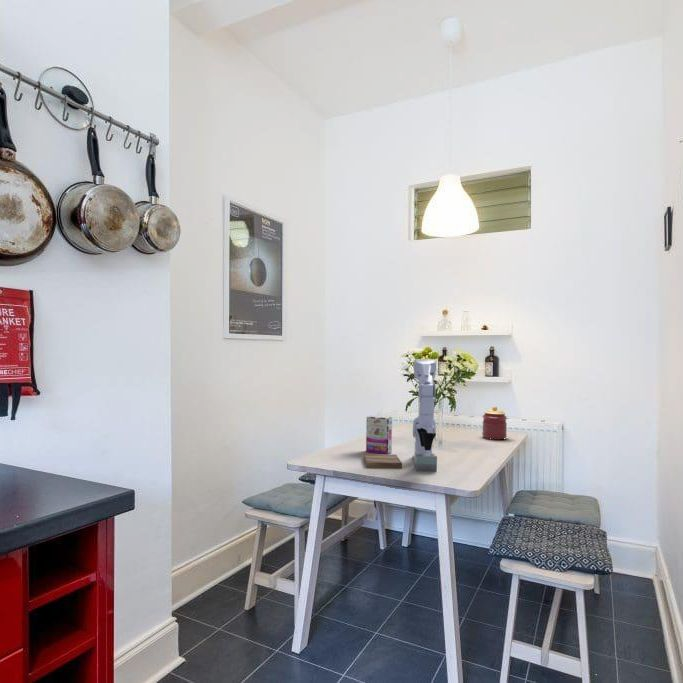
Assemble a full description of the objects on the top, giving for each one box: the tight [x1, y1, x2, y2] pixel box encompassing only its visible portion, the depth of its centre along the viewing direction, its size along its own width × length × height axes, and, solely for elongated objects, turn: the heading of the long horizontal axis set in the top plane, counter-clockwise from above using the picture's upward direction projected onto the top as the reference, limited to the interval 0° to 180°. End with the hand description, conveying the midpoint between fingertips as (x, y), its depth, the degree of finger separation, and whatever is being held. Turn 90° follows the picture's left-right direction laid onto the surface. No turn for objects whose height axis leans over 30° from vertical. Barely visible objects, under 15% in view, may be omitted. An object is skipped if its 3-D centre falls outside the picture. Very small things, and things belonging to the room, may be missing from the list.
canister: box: [481, 406, 508, 440], centre depth 270 cm, size 13×13×18 cm
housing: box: [413, 452, 438, 473], centre depth 194 cm, size 5×8×7 cm, turn 92°
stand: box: [363, 453, 403, 469], centre depth 203 cm, size 16×14×2 cm
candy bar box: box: [365, 415, 393, 454], centre depth 225 cm, size 11×5×16 cm, turn 62°
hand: (425, 448), depth 194 cm, fingers open, 7 cm apart
